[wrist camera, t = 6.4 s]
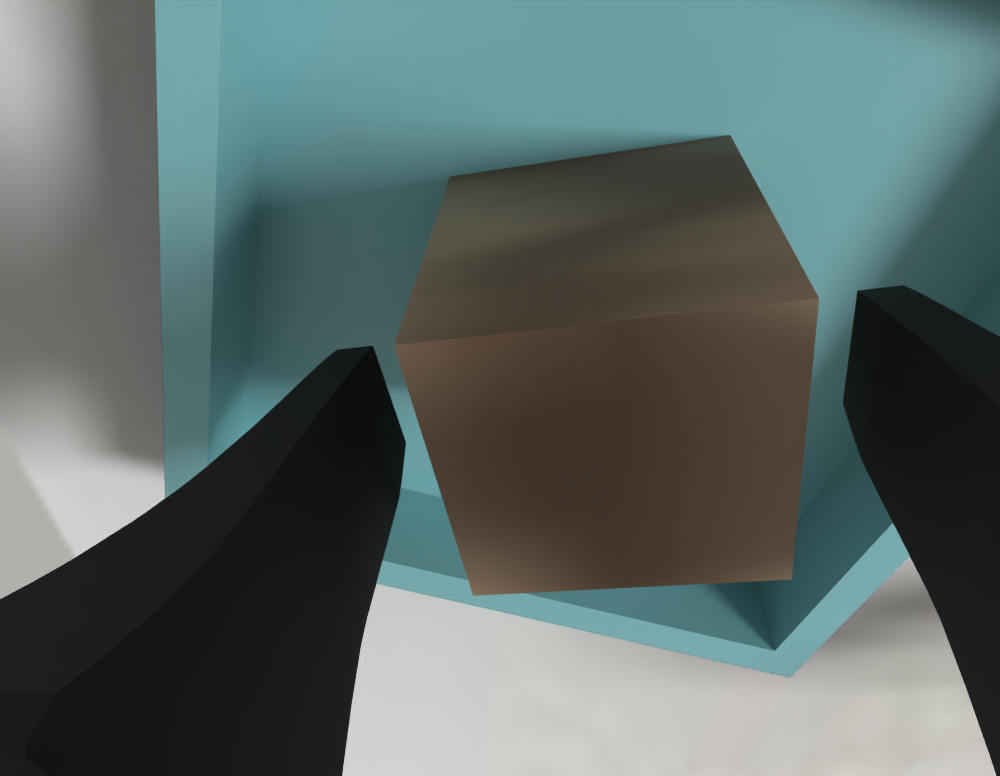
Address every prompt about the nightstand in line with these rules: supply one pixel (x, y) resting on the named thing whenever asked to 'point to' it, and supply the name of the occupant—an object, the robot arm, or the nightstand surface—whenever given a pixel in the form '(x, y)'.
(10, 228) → the nightstand surface
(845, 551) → the teal tray
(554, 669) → the nightstand surface
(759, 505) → the walnut block
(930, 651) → the nightstand surface
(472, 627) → the nightstand surface
